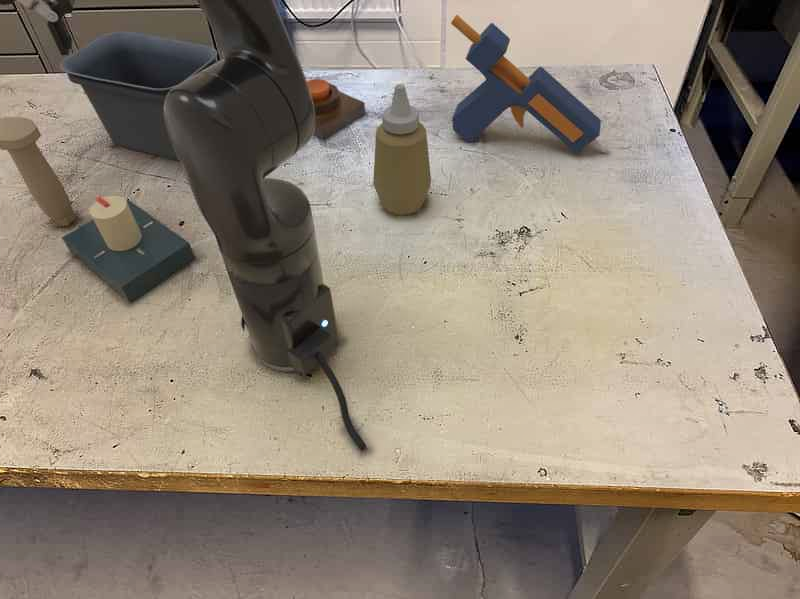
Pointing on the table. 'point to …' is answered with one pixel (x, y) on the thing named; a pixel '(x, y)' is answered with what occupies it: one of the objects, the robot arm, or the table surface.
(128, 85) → the storage bin
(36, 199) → the handle
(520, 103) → the glue gun
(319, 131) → the button block
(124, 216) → the dial
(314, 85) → the button
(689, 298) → the table surface
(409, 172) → the squeeze bottle
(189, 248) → the dial panel
